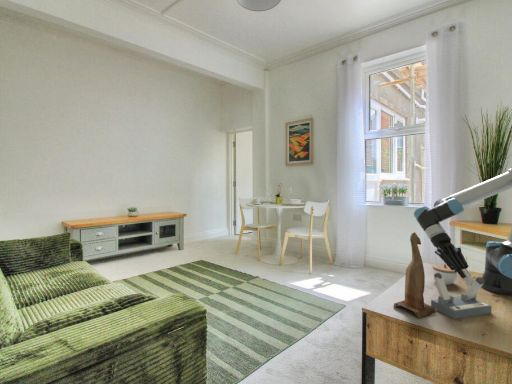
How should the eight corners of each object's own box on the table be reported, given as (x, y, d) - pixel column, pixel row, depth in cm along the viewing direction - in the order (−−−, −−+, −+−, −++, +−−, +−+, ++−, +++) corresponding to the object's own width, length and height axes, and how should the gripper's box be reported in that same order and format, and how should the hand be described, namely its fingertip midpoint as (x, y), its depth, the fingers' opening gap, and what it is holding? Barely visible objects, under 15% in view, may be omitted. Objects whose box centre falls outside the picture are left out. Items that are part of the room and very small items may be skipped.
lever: (440, 302, 112) (430, 273, 117) (447, 301, 113) (437, 272, 118) (445, 302, 110) (436, 272, 114) (452, 301, 111) (443, 272, 115)
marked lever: (461, 296, 116) (475, 276, 111) (468, 295, 117) (481, 275, 112) (467, 301, 114) (481, 281, 108) (474, 300, 115) (488, 280, 109)
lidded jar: (461, 287, 136) (462, 268, 135) (437, 285, 138) (438, 267, 137) (450, 279, 146) (451, 262, 146) (428, 277, 148) (429, 260, 148)
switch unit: (431, 307, 115) (431, 293, 114) (466, 302, 119) (466, 289, 119) (453, 319, 105) (454, 304, 105) (491, 313, 110) (491, 299, 110)
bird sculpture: (436, 313, 110) (440, 233, 109) (419, 319, 104) (423, 235, 103) (408, 302, 120) (412, 229, 119) (392, 307, 114) (395, 230, 113)
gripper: (443, 239, 133) (476, 287, 118) (421, 241, 130) (452, 290, 115) (454, 231, 128) (490, 279, 112) (431, 232, 124) (466, 282, 109)
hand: (471, 284), depth 113 cm, fingers closed
